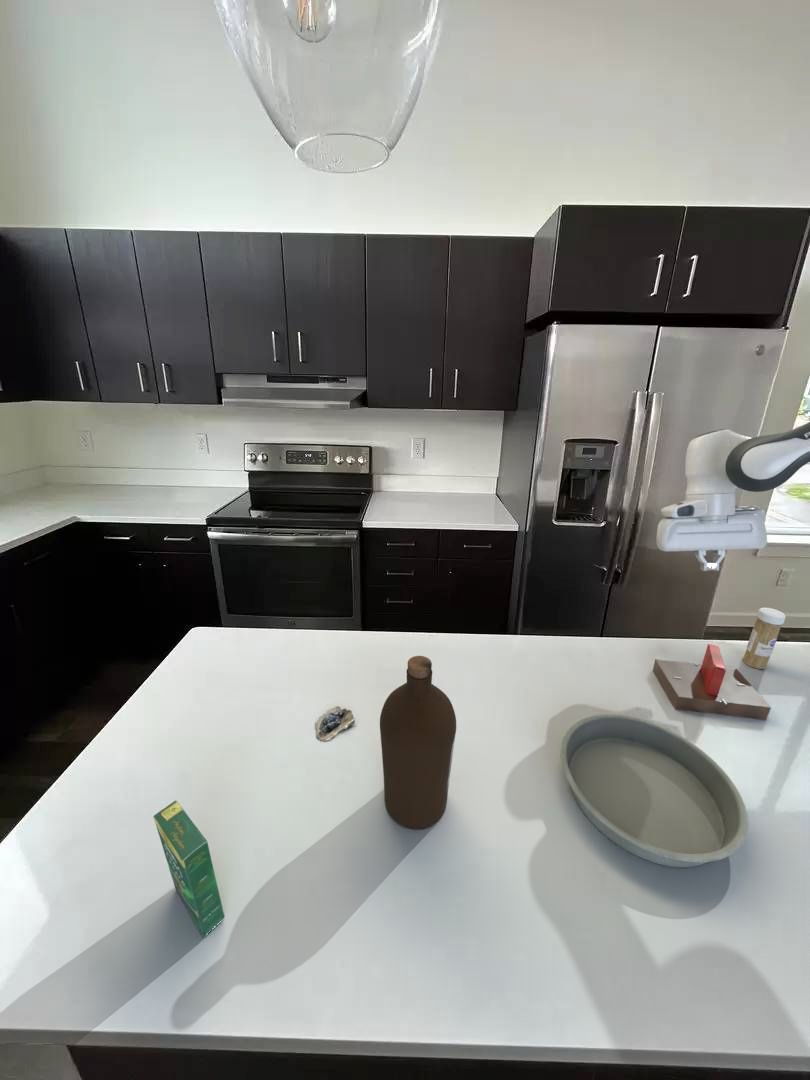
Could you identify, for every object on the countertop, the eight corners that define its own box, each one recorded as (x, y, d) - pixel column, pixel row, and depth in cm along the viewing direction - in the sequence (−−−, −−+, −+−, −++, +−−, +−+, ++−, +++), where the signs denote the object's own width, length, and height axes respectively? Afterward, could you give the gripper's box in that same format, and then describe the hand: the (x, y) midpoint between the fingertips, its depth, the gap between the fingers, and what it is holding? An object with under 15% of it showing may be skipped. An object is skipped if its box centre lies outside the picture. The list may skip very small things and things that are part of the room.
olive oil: (388, 843, 58) (388, 696, 50) (374, 777, 68) (372, 644, 59) (461, 824, 61) (473, 682, 52) (437, 764, 71) (444, 635, 62)
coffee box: (172, 888, 53) (150, 813, 48) (195, 869, 55) (177, 796, 50) (202, 941, 48) (181, 863, 43) (226, 918, 50) (209, 842, 45)
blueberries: (361, 716, 80) (360, 708, 80) (337, 747, 73) (337, 739, 73) (331, 705, 83) (330, 698, 82) (305, 734, 76) (304, 726, 75)
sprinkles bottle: (761, 672, 94) (781, 619, 89) (738, 661, 98) (755, 609, 93) (770, 665, 96) (790, 613, 91) (747, 655, 100) (764, 604, 95)
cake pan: (525, 785, 67) (529, 763, 65) (601, 712, 82) (605, 693, 80) (704, 931, 49) (715, 906, 48) (759, 805, 64) (769, 783, 63)
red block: (700, 667, 90) (708, 642, 88) (710, 670, 90) (718, 645, 87) (706, 693, 83) (715, 666, 81) (717, 696, 82) (726, 669, 80)
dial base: (730, 677, 92) (734, 665, 91) (768, 722, 80) (773, 709, 79) (651, 668, 95) (654, 657, 94) (676, 711, 82) (680, 698, 81)
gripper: (756, 504, 93) (756, 567, 94) (653, 509, 98) (654, 569, 99) (774, 504, 87) (773, 571, 88) (663, 510, 91) (664, 573, 92)
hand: (709, 570), depth 93 cm, fingers closed
